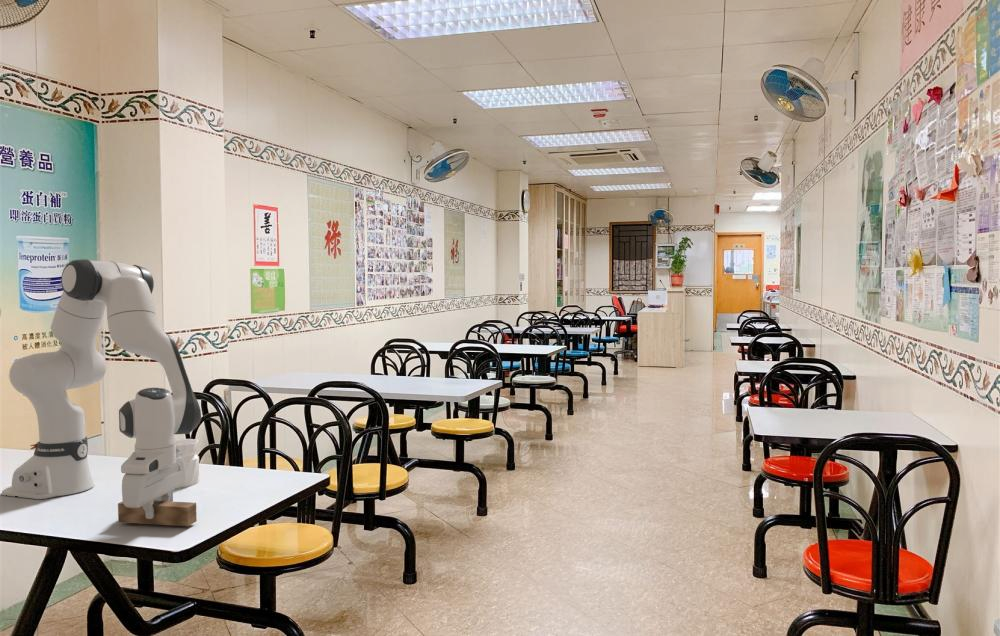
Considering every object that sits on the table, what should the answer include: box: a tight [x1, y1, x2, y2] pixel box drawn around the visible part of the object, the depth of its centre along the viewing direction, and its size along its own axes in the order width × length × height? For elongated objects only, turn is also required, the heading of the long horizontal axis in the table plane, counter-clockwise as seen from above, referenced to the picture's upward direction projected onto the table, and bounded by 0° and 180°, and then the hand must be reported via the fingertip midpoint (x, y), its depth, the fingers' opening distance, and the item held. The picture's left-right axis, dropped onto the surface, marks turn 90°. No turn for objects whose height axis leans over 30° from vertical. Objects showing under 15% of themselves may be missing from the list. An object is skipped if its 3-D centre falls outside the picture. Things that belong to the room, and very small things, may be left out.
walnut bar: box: [117, 500, 197, 527], centre depth 171 cm, size 18×4×4 cm, turn 81°
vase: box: [175, 438, 201, 488], centre depth 206 cm, size 9×9×12 cm
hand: (157, 514), depth 171 cm, fingers closed on walnut bar, 4 cm apart
